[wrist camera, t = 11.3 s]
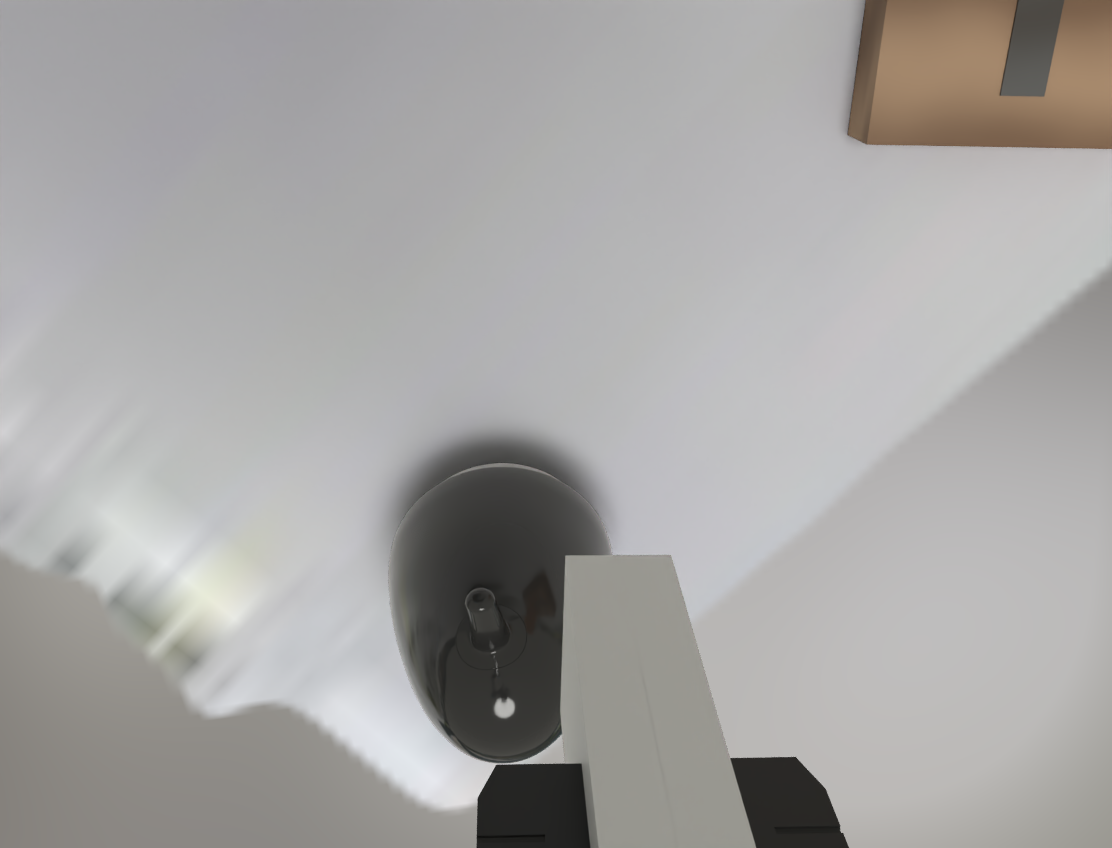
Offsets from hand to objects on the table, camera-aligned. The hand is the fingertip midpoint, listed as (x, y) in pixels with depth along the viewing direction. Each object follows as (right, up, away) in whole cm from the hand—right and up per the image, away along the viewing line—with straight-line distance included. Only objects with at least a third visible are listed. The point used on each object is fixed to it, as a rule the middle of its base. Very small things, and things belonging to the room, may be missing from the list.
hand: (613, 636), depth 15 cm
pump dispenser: (-4, -2, +36) cm, 37 cm away
